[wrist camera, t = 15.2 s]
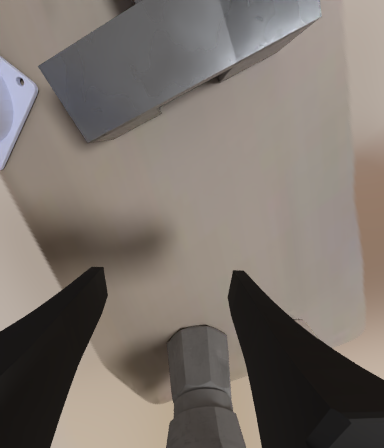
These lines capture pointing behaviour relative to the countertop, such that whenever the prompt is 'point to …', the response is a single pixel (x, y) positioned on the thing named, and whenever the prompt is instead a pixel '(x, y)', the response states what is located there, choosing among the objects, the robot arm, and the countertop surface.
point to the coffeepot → (201, 391)
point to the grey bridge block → (166, 56)
